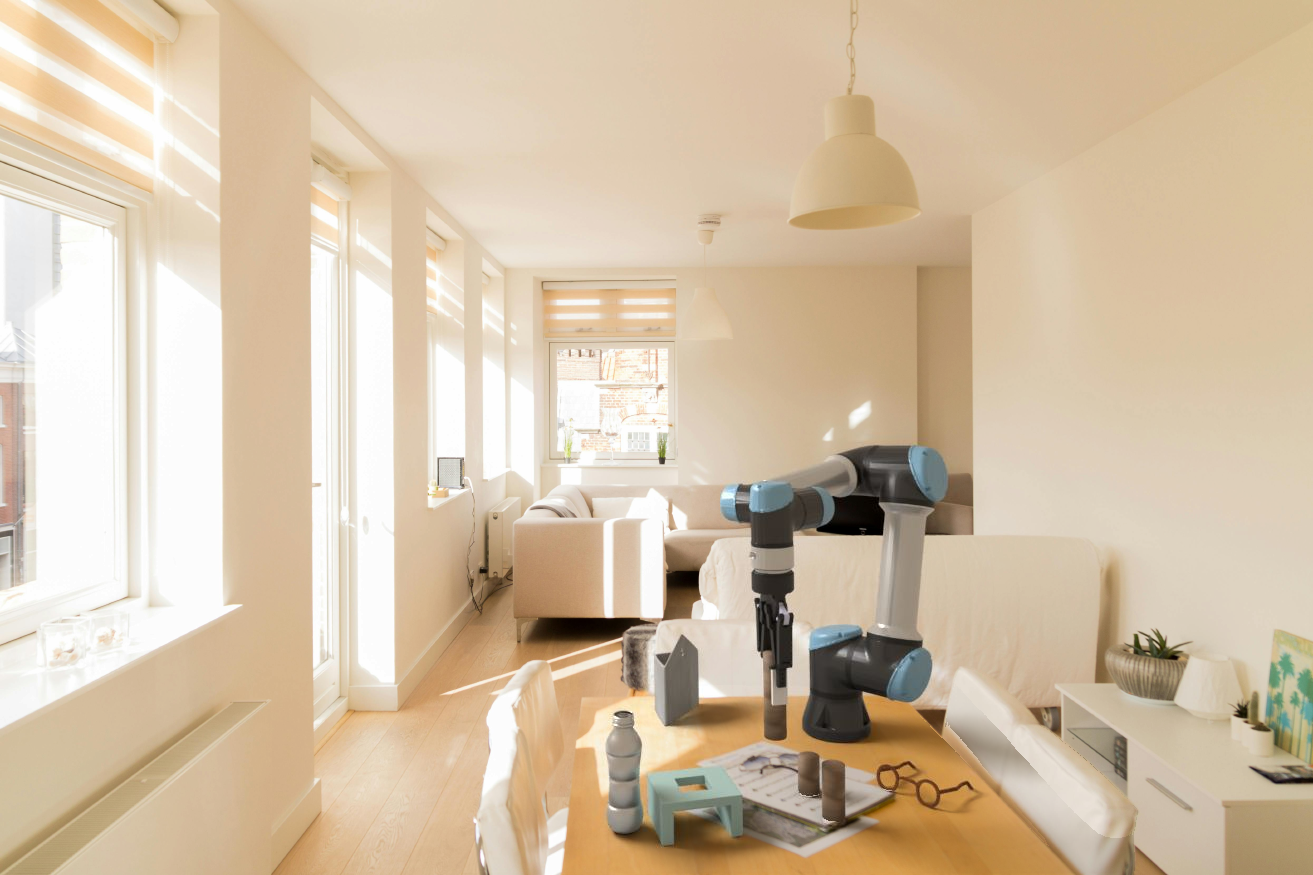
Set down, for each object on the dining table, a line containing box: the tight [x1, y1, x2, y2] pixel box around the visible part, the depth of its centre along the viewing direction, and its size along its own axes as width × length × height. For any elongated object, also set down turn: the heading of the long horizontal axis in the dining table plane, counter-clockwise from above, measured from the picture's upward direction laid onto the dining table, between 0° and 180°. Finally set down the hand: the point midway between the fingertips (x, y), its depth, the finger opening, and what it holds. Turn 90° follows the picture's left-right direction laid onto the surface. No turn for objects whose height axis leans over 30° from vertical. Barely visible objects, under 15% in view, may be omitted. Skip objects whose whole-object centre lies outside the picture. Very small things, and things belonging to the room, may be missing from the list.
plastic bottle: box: [605, 710, 645, 835], centre depth 140 cm, size 6×7×20 cm
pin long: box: [762, 650, 788, 742], centre depth 145 cm, size 4×4×15 cm
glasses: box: [875, 760, 974, 809], centre depth 154 cm, size 13×13×5 cm
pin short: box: [797, 750, 821, 796], centre depth 153 cm, size 4×4×7 cm
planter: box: [653, 633, 700, 727], centre depth 195 cm, size 16×8×19 cm, turn 149°
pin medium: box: [821, 759, 847, 828], centre depth 142 cm, size 4×4×10 cm
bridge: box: [646, 764, 744, 847], centre depth 142 cm, size 14×12×7 cm
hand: (774, 699), depth 145 cm, fingers closed on pin long, 4 cm apart
